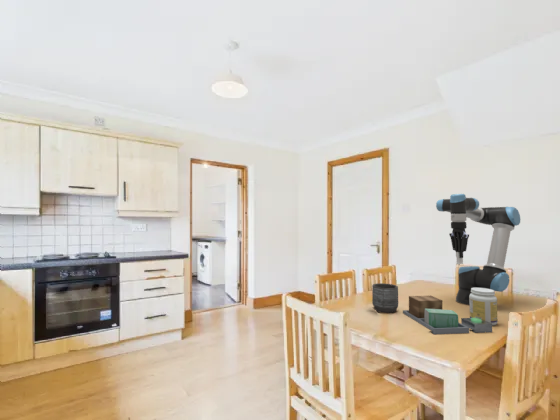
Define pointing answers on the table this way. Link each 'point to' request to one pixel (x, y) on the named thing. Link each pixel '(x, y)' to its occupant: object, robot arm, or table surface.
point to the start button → (476, 320)
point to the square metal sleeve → (477, 325)
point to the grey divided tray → (434, 330)
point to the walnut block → (423, 305)
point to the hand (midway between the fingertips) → (459, 263)
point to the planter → (385, 297)
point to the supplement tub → (483, 305)
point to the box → (441, 318)
